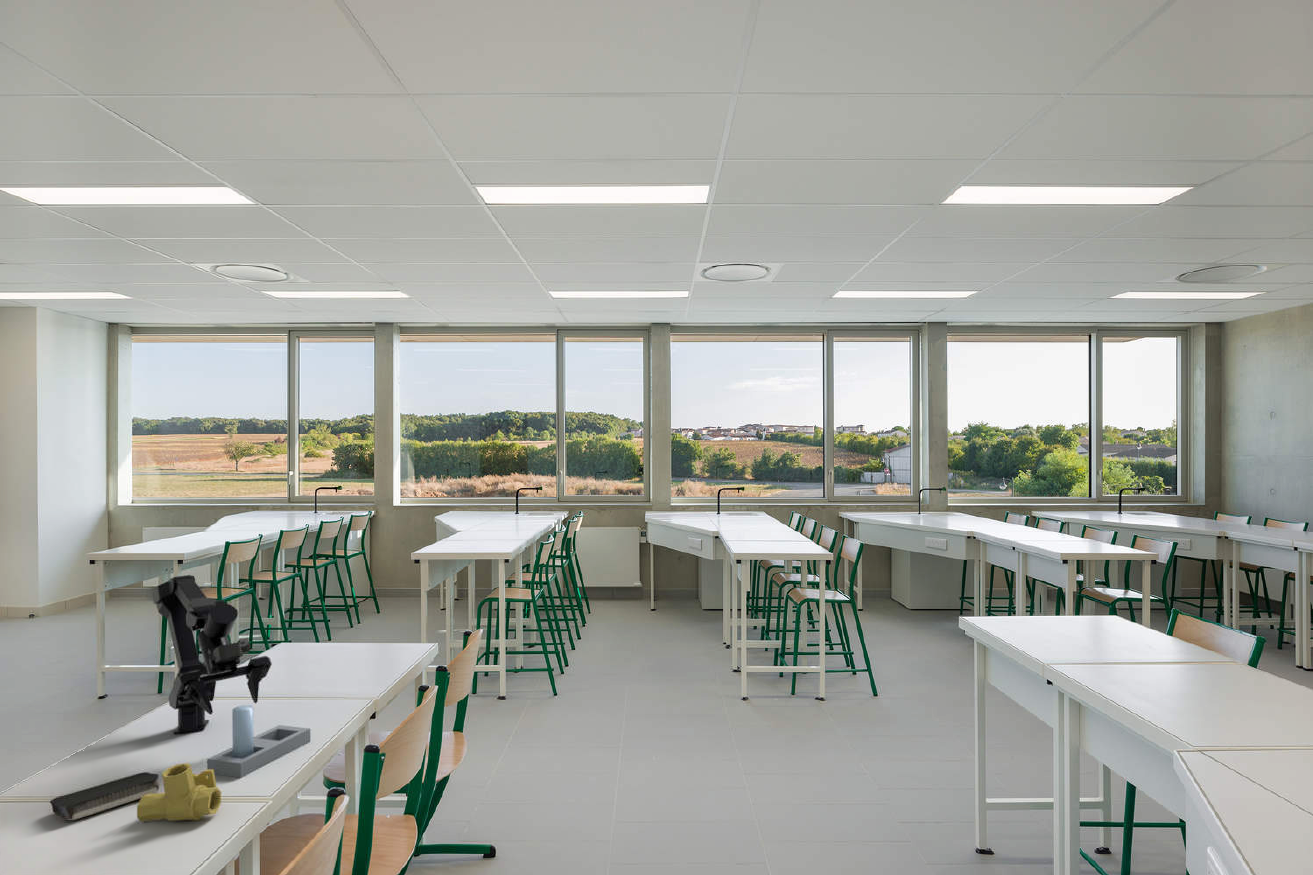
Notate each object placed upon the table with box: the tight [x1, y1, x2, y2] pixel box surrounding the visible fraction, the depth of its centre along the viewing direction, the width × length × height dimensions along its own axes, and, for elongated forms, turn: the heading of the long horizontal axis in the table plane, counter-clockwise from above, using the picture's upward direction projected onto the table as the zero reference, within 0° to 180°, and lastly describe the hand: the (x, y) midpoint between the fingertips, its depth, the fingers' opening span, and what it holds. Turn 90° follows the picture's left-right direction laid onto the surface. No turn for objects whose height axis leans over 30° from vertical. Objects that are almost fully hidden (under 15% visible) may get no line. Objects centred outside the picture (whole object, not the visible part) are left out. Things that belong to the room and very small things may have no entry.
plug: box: [231, 704, 255, 759], centre depth 163 cm, size 4×4×12 cm
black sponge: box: [49, 771, 160, 821], centre depth 146 cm, size 16×8×4 cm, turn 142°
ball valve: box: [136, 762, 222, 822], centre depth 141 cm, size 13×10×10 cm
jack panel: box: [206, 724, 311, 779], centre depth 167 cm, size 20×9×3 cm, turn 163°
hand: (234, 707), depth 166 cm, fingers open, 9 cm apart
